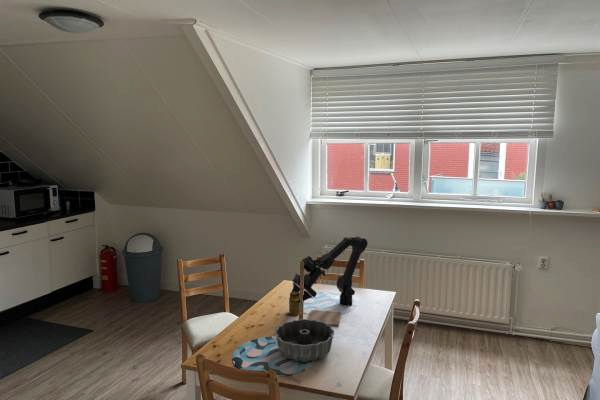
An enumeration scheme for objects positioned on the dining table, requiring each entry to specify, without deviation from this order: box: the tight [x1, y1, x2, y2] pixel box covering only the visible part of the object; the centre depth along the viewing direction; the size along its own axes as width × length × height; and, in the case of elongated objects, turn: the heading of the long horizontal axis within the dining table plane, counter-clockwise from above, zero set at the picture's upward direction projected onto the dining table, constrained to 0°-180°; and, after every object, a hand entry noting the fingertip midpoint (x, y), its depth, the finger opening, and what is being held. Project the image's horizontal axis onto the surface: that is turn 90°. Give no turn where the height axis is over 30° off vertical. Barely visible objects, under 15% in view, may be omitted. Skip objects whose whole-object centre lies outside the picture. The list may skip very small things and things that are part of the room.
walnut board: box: [307, 309, 342, 328], centre depth 231 cm, size 16×16×1 cm
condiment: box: [283, 291, 301, 319], centre depth 236 cm, size 7×8×12 cm
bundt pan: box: [274, 318, 335, 362], centre depth 196 cm, size 26×26×10 cm
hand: (294, 299), depth 235 cm, fingers open, 9 cm apart
